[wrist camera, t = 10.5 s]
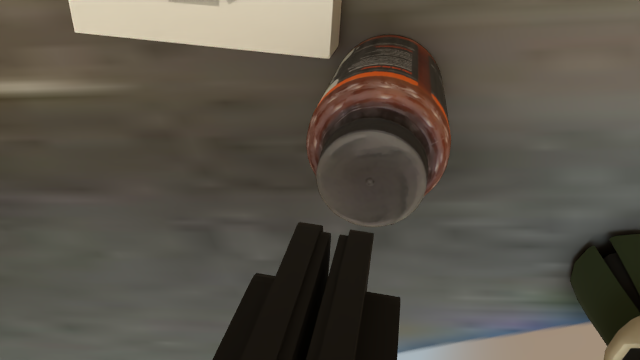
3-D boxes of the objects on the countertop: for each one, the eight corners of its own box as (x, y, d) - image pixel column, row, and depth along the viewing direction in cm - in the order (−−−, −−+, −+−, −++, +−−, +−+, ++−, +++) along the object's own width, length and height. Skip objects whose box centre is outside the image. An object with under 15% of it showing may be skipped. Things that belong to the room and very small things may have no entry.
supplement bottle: (318, 62, 26) (257, 141, 16) (416, 12, 24) (414, 68, 14) (364, 149, 28) (334, 266, 18) (458, 110, 26) (482, 220, 16)
